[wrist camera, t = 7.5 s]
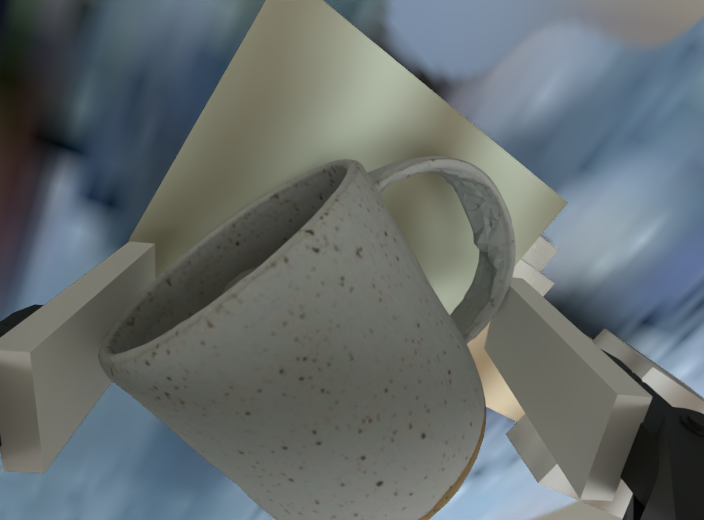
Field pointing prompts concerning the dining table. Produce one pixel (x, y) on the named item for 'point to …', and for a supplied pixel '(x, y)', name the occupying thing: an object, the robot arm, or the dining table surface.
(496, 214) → the ceramic mug
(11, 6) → the dining table surface
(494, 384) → the balance beam
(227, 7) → the dining table surface
